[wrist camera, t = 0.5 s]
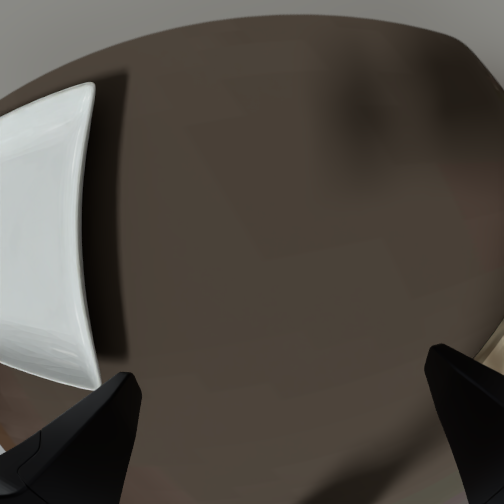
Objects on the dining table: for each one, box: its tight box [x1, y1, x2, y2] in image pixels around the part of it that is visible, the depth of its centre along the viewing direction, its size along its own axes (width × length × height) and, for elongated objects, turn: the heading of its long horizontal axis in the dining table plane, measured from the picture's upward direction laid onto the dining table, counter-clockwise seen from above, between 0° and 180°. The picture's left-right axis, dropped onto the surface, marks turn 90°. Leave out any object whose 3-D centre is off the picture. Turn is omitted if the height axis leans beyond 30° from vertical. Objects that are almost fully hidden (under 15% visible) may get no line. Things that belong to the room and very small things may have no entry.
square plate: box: [0, 82, 102, 391], centre depth 23 cm, size 27×27×4 cm
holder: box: [474, 319, 504, 375], centre depth 22 cm, size 10×10×2 cm
